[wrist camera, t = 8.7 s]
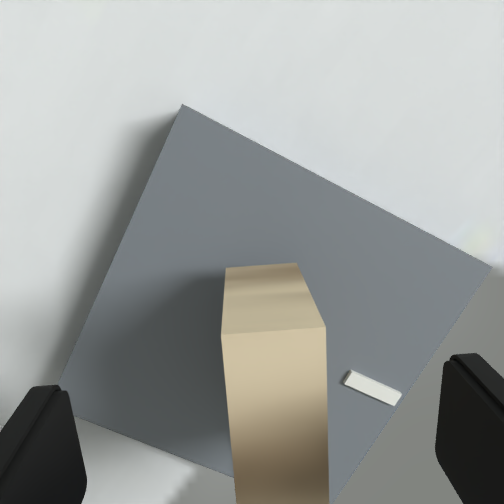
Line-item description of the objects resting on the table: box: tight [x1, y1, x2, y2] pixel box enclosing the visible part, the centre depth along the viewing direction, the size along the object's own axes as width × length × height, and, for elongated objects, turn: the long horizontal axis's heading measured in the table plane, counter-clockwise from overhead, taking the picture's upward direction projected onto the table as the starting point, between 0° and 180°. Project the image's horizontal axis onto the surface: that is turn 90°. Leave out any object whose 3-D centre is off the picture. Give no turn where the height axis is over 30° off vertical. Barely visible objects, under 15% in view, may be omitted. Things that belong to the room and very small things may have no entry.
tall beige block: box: [221, 263, 329, 504], centre depth 14 cm, size 10×2×6 cm, turn 4°
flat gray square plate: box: [58, 104, 492, 504], centre depth 18 cm, size 13×13×2 cm
